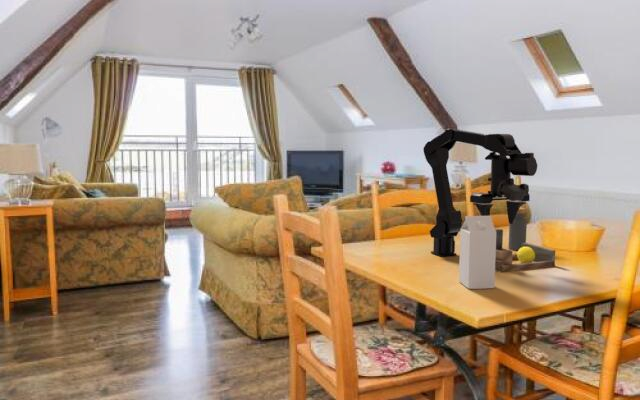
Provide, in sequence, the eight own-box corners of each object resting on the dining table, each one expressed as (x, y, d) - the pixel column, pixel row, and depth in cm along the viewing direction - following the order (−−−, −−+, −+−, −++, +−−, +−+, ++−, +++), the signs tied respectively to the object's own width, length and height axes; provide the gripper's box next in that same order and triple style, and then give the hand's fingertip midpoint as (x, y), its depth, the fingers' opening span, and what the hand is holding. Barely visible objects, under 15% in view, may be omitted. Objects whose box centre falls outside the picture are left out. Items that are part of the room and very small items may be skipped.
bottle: (525, 248, 185) (526, 207, 183) (526, 251, 179) (527, 209, 177) (508, 247, 187) (509, 207, 185) (508, 250, 181) (510, 208, 179)
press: (500, 271, 150) (500, 255, 150) (472, 262, 162) (473, 247, 162) (554, 265, 158) (555, 250, 157) (524, 257, 170) (525, 242, 169)
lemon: (535, 267, 158) (536, 251, 157) (517, 266, 160) (518, 250, 158) (533, 259, 165) (534, 243, 163) (515, 258, 166) (516, 243, 165)
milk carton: (458, 282, 139) (460, 214, 137) (483, 281, 140) (485, 214, 138) (468, 289, 132) (470, 218, 130) (494, 288, 133) (497, 217, 131)
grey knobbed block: (501, 268, 153) (502, 232, 152) (481, 262, 161) (483, 227, 160) (511, 267, 154) (513, 231, 153) (492, 261, 163) (493, 227, 161)
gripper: (494, 176, 144) (492, 230, 146) (544, 175, 151) (542, 226, 152) (469, 175, 154) (468, 225, 156) (517, 173, 161) (515, 221, 163)
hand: (499, 224), depth 156 cm, fingers open, 9 cm apart
